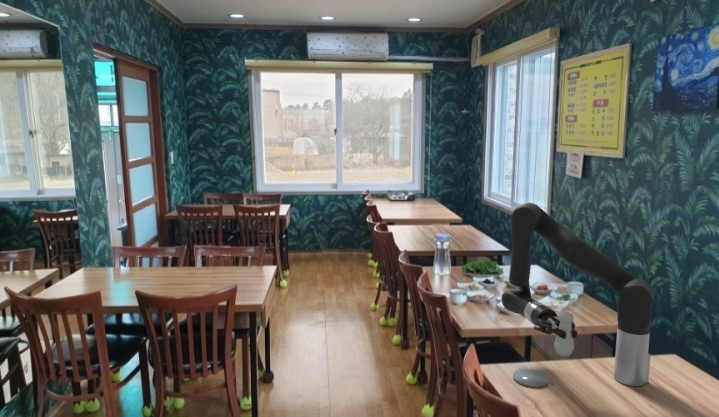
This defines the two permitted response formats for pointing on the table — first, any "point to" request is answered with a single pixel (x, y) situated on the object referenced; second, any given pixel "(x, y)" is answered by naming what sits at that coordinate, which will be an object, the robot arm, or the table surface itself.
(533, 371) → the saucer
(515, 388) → the table surface
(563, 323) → the salt shaker
